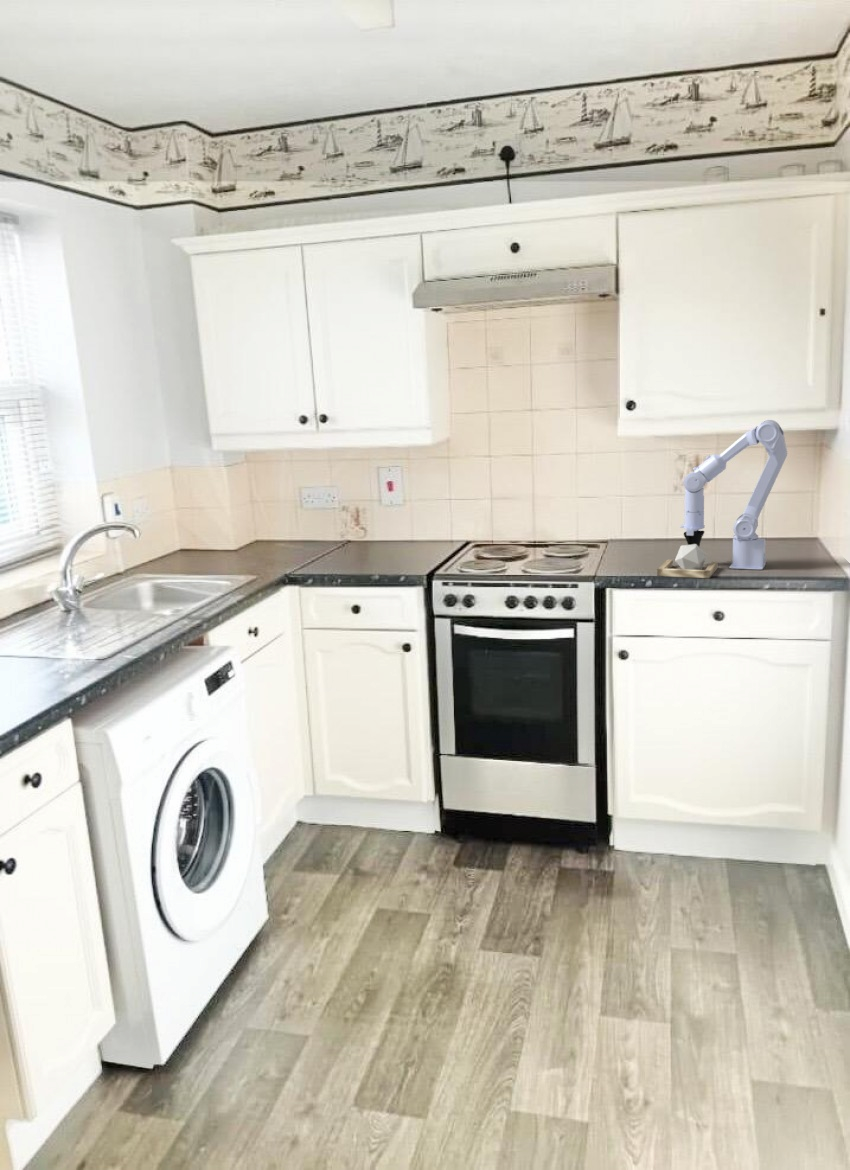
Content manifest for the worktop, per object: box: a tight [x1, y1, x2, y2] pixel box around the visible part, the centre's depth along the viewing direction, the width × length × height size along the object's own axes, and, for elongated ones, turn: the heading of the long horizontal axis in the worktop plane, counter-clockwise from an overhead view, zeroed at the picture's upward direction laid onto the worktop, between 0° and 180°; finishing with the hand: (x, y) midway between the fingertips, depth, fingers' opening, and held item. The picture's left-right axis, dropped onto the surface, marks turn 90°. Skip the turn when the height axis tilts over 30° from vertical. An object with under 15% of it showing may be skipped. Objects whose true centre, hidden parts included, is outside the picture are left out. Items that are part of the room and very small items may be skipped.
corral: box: [656, 559, 719, 579], centre depth 272 cm, size 15×14×2 cm
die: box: [674, 544, 708, 570], centre depth 273 cm, size 8×9×10 cm
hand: (693, 554), depth 280 cm, fingers closed
